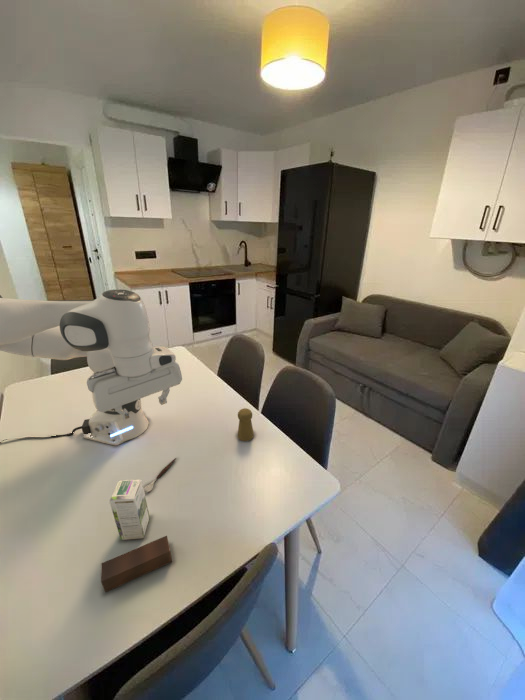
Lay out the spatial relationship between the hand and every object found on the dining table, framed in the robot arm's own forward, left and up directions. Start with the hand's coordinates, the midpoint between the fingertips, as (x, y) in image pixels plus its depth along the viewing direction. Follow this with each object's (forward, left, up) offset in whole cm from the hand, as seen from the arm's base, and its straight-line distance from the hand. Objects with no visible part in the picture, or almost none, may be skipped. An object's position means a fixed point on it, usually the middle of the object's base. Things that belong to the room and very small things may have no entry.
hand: (145, 410), depth 72 cm
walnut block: (+3, -20, -29) cm, 35 cm away
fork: (-3, +5, -29) cm, 30 cm away
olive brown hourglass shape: (+21, +26, -29) cm, 44 cm away
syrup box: (-2, -11, -29) cm, 31 cm away
